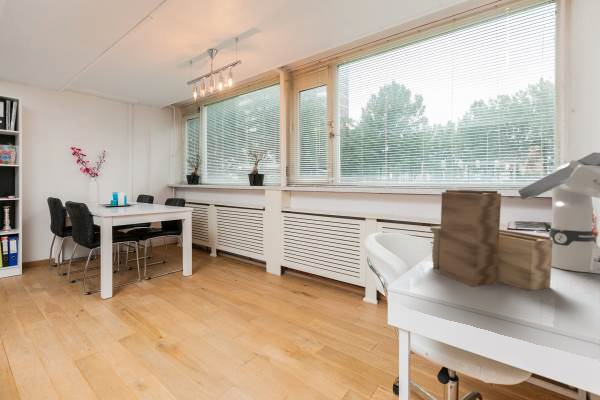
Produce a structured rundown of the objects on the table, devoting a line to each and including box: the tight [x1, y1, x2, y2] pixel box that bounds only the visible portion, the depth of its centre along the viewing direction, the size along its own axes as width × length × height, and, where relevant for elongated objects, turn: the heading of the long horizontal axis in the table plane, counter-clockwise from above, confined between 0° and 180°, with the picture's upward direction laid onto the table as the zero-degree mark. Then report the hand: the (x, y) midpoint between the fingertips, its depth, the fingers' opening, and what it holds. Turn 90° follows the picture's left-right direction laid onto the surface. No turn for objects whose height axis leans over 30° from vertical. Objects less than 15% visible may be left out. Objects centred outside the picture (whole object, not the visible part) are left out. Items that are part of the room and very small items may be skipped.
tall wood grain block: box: [438, 189, 502, 288], centre depth 94 cm, size 10×13×29 cm
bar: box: [517, 151, 600, 200], centre depth 80 cm, size 3×20×3 cm, turn 20°
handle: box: [430, 225, 441, 270], centre depth 105 cm, size 5×6×15 cm
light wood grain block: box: [497, 228, 553, 292], centre depth 92 cm, size 9×15×15 cm, turn 20°
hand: (576, 163), depth 76 cm, fingers closed on bar, 3 cm apart
